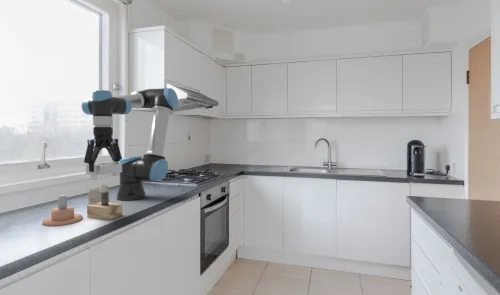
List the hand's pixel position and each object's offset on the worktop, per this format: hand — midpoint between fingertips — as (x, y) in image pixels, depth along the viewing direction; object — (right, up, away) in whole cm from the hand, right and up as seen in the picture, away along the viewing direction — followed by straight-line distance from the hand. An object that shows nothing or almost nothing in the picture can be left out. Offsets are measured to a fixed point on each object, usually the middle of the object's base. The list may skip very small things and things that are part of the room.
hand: (104, 177), depth 129 cm
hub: (-14, -17, -7) cm, 23 cm away
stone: (-9, -17, +14) cm, 24 cm away
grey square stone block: (0, +2, 0) cm, 2 cm away
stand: (0, -17, 0) cm, 17 cm away
